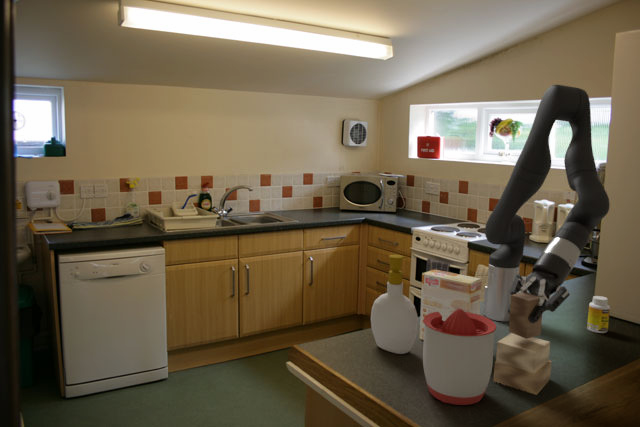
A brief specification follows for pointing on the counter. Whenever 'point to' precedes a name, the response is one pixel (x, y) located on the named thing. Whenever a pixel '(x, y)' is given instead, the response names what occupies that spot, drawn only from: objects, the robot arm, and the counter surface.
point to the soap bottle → (394, 314)
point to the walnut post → (523, 315)
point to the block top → (523, 352)
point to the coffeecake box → (448, 294)
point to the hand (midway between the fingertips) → (520, 317)
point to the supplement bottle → (598, 315)
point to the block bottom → (522, 377)
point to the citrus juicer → (458, 356)
